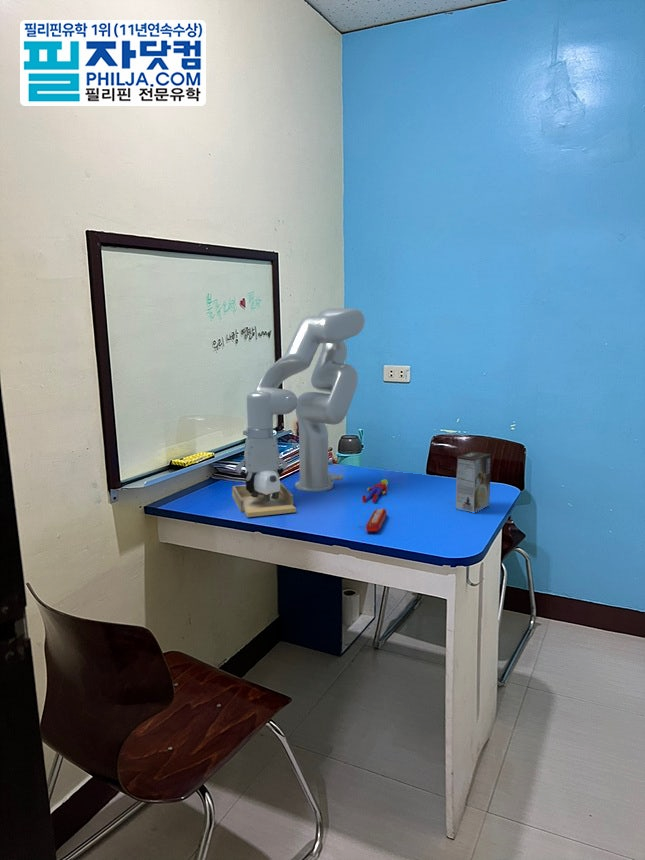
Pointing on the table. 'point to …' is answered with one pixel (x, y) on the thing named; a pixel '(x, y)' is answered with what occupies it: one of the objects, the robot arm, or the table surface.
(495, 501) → the table surface
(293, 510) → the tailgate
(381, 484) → the character figure
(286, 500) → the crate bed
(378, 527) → the candy bar
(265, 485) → the giant panda
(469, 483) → the coffee box
